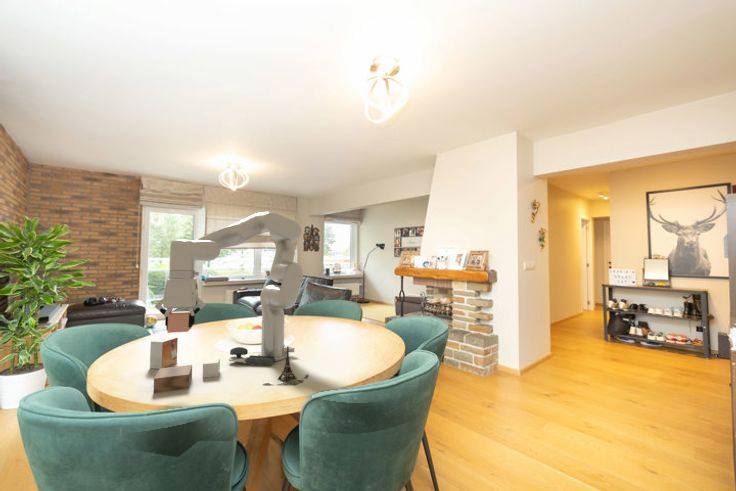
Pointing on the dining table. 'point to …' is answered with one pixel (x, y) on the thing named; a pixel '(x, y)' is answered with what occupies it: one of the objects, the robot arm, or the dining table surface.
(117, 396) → the dining table surface
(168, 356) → the small box
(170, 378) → the walnut base block
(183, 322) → the terracotta cube
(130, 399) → the dining table surface
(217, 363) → the pale grey cube
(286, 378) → the eiffel tower figurine
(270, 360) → the can opener
